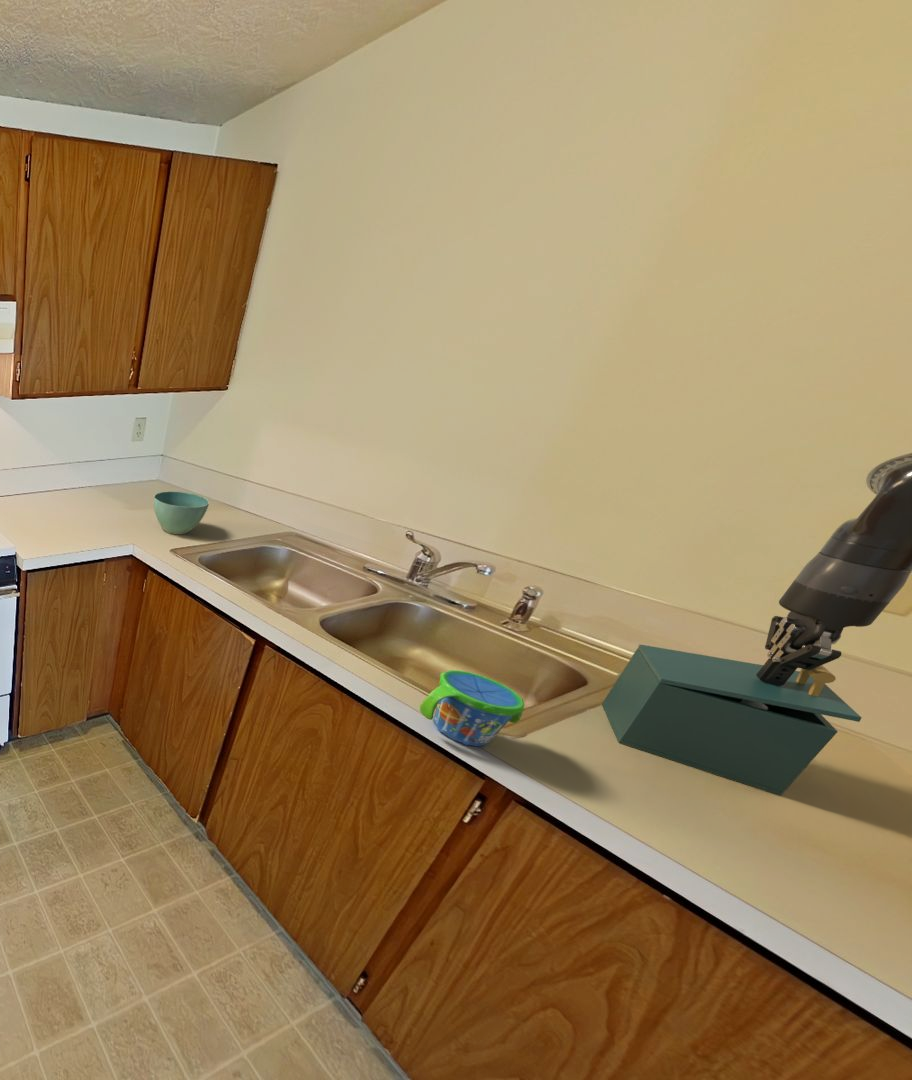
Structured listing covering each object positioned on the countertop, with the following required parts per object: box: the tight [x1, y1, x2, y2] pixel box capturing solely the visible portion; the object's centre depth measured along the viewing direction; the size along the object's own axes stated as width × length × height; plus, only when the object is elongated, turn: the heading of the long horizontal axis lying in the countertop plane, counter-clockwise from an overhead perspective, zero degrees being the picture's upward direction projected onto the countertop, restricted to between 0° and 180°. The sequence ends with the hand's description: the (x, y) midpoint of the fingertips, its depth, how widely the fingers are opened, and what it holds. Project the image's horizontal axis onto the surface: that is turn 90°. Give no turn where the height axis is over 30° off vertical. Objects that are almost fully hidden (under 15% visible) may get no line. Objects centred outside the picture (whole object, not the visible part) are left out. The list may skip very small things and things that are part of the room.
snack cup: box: [419, 669, 525, 747], centre depth 90 cm, size 16×10×10 cm
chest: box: [601, 647, 839, 797], centre depth 87 cm, size 17×14×13 cm
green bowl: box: [153, 490, 210, 535], centre depth 182 cm, size 18×18×12 cm
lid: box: [637, 644, 862, 723], centre depth 83 cm, size 18×14×5 cm
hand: (768, 681), depth 81 cm, fingers closed
